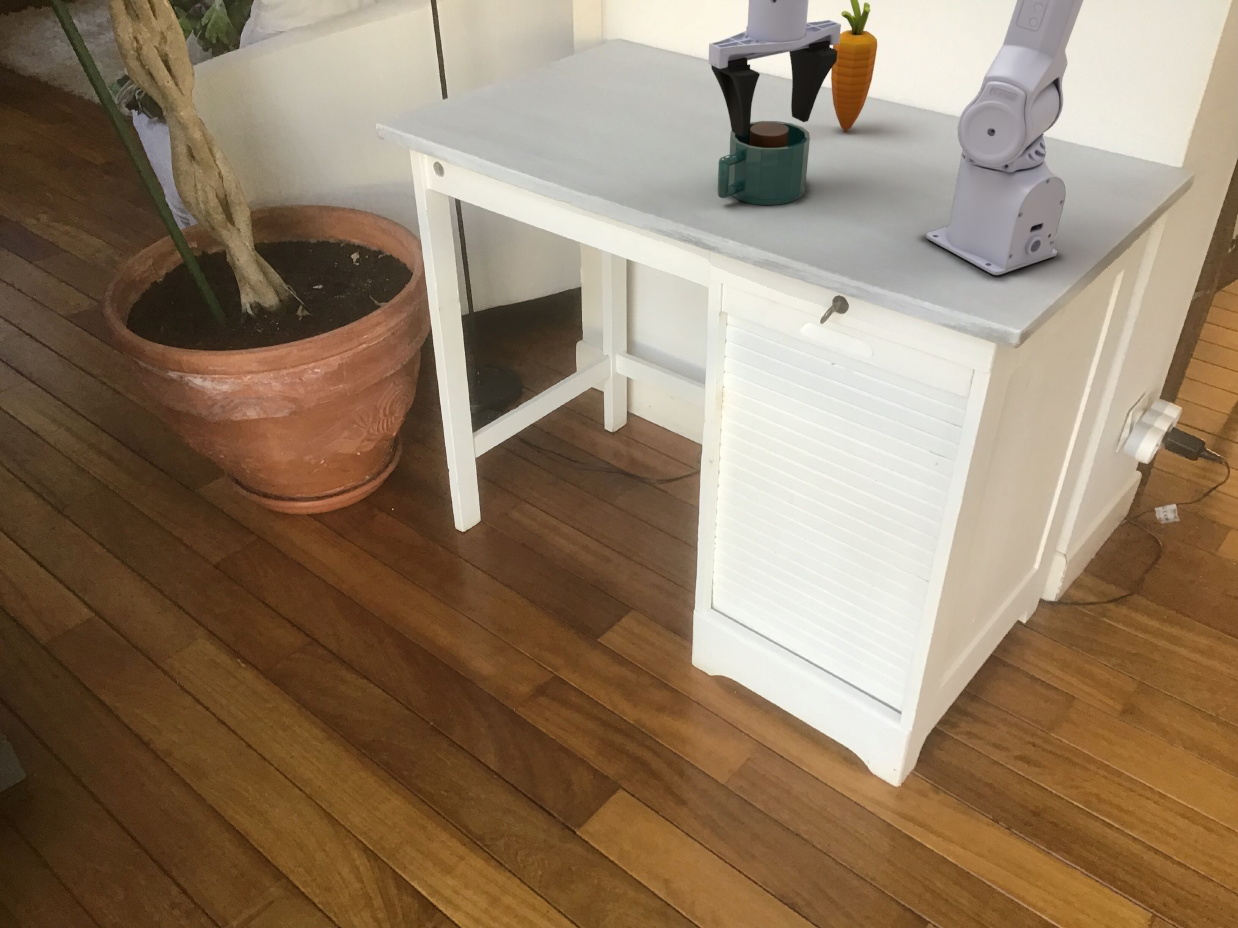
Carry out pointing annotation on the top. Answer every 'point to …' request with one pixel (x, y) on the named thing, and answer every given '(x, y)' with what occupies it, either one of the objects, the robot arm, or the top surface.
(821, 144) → the top surface
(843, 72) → the carrot
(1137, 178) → the top surface
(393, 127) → the top surface
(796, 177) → the mug
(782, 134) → the walnut peg
